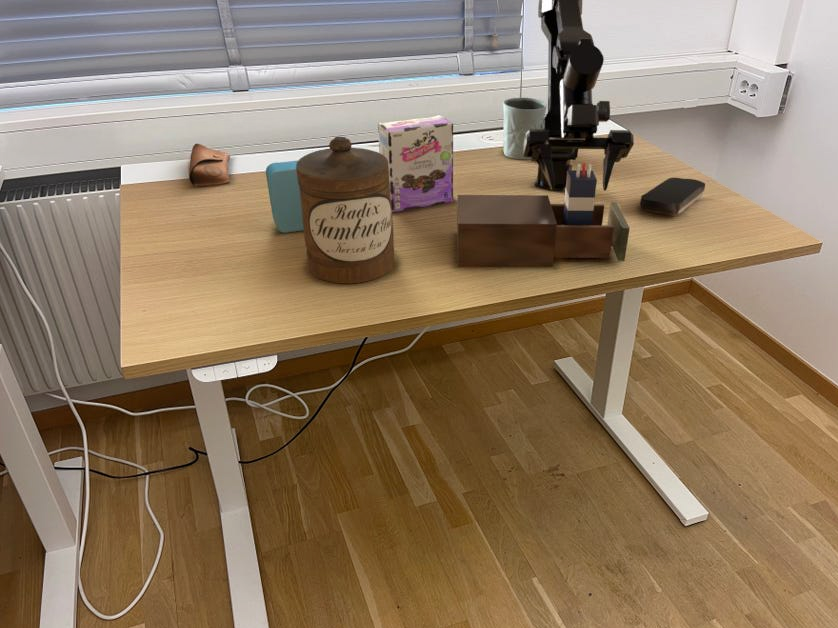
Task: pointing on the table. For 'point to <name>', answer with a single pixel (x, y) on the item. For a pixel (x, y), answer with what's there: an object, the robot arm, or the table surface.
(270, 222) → the table surface
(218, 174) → the sunglasses case
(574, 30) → the robot arm
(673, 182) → the black sponge
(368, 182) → the wooden container
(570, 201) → the straw box
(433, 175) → the candy box
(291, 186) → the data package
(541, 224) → the cabinet
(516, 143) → the green ceramic pot
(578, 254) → the drawer
